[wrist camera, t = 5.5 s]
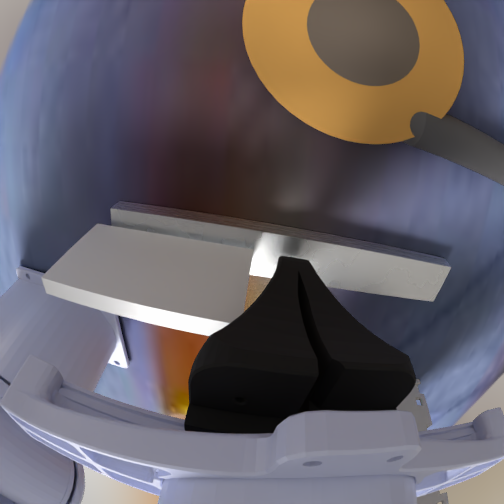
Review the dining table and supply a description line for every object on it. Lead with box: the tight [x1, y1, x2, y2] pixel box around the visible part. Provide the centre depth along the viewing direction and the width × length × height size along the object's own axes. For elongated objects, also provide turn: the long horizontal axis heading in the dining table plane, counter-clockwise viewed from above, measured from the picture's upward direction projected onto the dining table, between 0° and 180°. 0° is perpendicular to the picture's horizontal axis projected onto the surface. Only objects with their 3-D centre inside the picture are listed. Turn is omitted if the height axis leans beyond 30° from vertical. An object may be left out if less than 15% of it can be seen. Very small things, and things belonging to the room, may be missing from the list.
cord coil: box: [242, 0, 464, 144], centre depth 8 cm, size 9×9×2 cm
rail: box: [110, 201, 451, 302], centre depth 14 cm, size 18×2×1 cm, turn 82°
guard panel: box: [41, 224, 254, 336], centre depth 11 cm, size 8×1×5 cm, turn 82°
